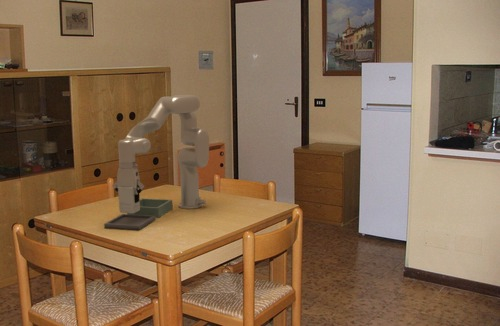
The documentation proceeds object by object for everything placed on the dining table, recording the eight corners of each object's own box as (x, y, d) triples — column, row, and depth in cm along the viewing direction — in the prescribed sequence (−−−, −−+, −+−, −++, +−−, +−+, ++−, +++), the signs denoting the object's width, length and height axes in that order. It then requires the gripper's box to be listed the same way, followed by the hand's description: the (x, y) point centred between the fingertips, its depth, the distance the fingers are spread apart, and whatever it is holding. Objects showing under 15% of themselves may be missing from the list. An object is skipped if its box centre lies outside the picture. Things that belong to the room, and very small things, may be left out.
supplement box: (140, 210, 278) (139, 184, 276) (132, 214, 271) (131, 187, 269) (127, 209, 280) (125, 183, 278) (119, 212, 273) (117, 186, 271)
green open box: (172, 209, 304) (172, 199, 303) (158, 217, 287) (158, 208, 286) (142, 207, 308) (142, 198, 307) (127, 215, 292) (126, 206, 291)
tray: (155, 220, 283) (155, 215, 283) (139, 230, 266) (139, 226, 265) (122, 218, 288) (122, 213, 287) (104, 228, 271) (104, 223, 270)
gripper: (147, 164, 273) (149, 200, 276) (114, 163, 278) (116, 199, 281) (140, 167, 266) (142, 204, 269) (106, 166, 270) (109, 202, 274)
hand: (129, 201), depth 275 cm, fingers closed on supplement box, 7 cm apart
